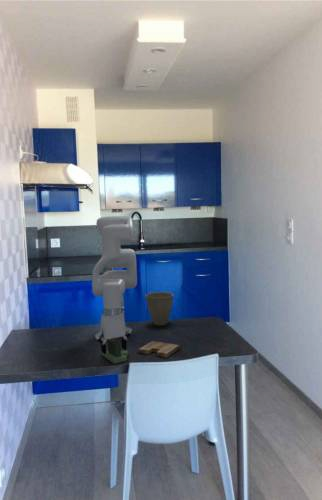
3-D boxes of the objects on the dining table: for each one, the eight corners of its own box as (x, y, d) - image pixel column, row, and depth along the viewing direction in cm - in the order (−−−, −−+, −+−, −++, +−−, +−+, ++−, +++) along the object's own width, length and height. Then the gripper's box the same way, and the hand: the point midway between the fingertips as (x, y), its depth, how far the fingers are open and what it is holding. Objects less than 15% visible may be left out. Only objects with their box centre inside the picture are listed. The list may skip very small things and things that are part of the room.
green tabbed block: (102, 355, 196) (101, 338, 195) (121, 351, 201) (120, 335, 200) (114, 363, 186) (113, 346, 185) (133, 359, 191) (132, 342, 190)
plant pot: (179, 322, 244) (179, 294, 242) (161, 329, 233) (160, 299, 231) (159, 318, 254) (158, 290, 252) (140, 324, 243) (139, 295, 241)
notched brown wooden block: (138, 352, 198) (138, 348, 198) (152, 344, 209) (152, 341, 209) (166, 357, 192) (166, 353, 191) (179, 349, 202) (179, 345, 202)
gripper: (127, 306, 198) (128, 344, 200) (89, 312, 189) (91, 352, 191) (134, 310, 191) (136, 349, 193) (96, 316, 183) (98, 357, 185)
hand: (114, 350), depth 192 cm, fingers open, 8 cm apart
